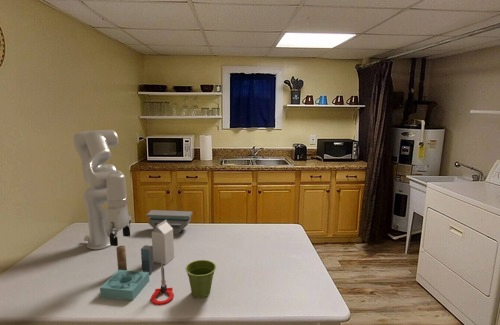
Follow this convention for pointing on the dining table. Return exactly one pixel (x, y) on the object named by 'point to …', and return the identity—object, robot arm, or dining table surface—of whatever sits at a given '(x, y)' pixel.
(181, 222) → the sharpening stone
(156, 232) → the milk carton
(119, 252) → the walnut dowel
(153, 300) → the tow hook
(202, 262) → the plant pot
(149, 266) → the steel square bar
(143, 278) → the bore block
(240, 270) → the dining table surface
